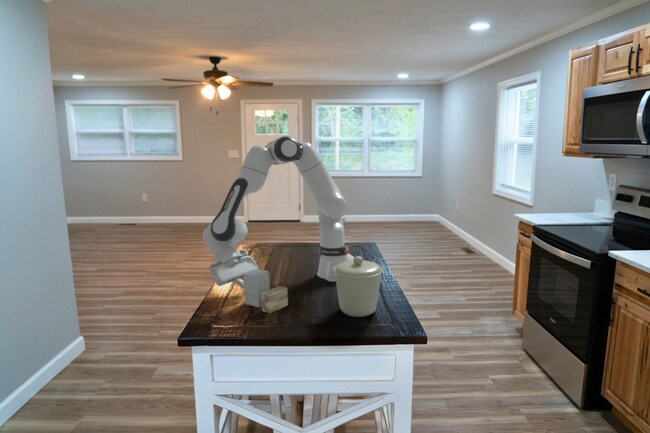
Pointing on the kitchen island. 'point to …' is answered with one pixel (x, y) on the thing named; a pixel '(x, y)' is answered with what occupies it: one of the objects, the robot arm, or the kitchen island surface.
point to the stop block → (274, 299)
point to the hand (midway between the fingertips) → (245, 287)
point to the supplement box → (255, 286)
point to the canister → (358, 286)
